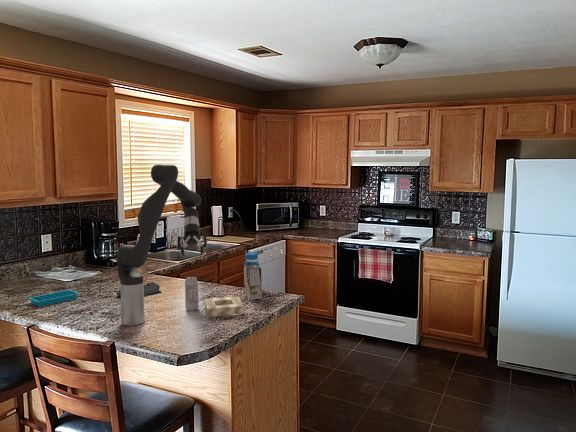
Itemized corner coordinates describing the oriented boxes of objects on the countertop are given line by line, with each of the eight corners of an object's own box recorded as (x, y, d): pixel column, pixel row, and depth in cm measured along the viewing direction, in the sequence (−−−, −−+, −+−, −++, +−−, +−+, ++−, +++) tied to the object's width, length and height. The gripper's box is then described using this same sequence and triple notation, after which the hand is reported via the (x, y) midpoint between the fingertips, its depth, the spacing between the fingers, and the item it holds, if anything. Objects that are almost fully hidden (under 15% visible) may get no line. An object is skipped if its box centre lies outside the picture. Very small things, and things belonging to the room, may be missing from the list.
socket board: (207, 317, 197) (207, 308, 197) (204, 307, 213) (204, 299, 212) (243, 314, 201) (243, 306, 201) (238, 304, 217) (238, 296, 216)
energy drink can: (199, 307, 212) (199, 276, 211) (197, 311, 206) (196, 279, 205) (186, 307, 212) (186, 276, 211) (184, 311, 206) (183, 279, 205)
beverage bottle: (257, 292, 239) (257, 255, 237) (242, 291, 241) (241, 254, 239) (261, 288, 248) (261, 252, 246) (246, 287, 249) (246, 251, 247)
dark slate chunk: (112, 296, 235) (111, 287, 234) (150, 288, 251) (150, 279, 250) (126, 301, 224) (126, 292, 224) (165, 293, 240) (165, 284, 240)
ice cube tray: (80, 298, 229) (79, 293, 229) (38, 308, 213) (37, 302, 213) (69, 295, 236) (69, 289, 236) (28, 303, 221) (27, 297, 220)
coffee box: (262, 299, 225) (261, 268, 224) (249, 300, 223) (249, 269, 221) (256, 294, 234) (256, 264, 232) (245, 296, 232) (244, 265, 230)
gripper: (176, 223, 223) (176, 251, 214) (205, 222, 226) (207, 249, 217) (177, 231, 229) (178, 259, 220) (206, 230, 232) (207, 257, 223)
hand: (192, 254), depth 218 cm, fingers open, 8 cm apart
